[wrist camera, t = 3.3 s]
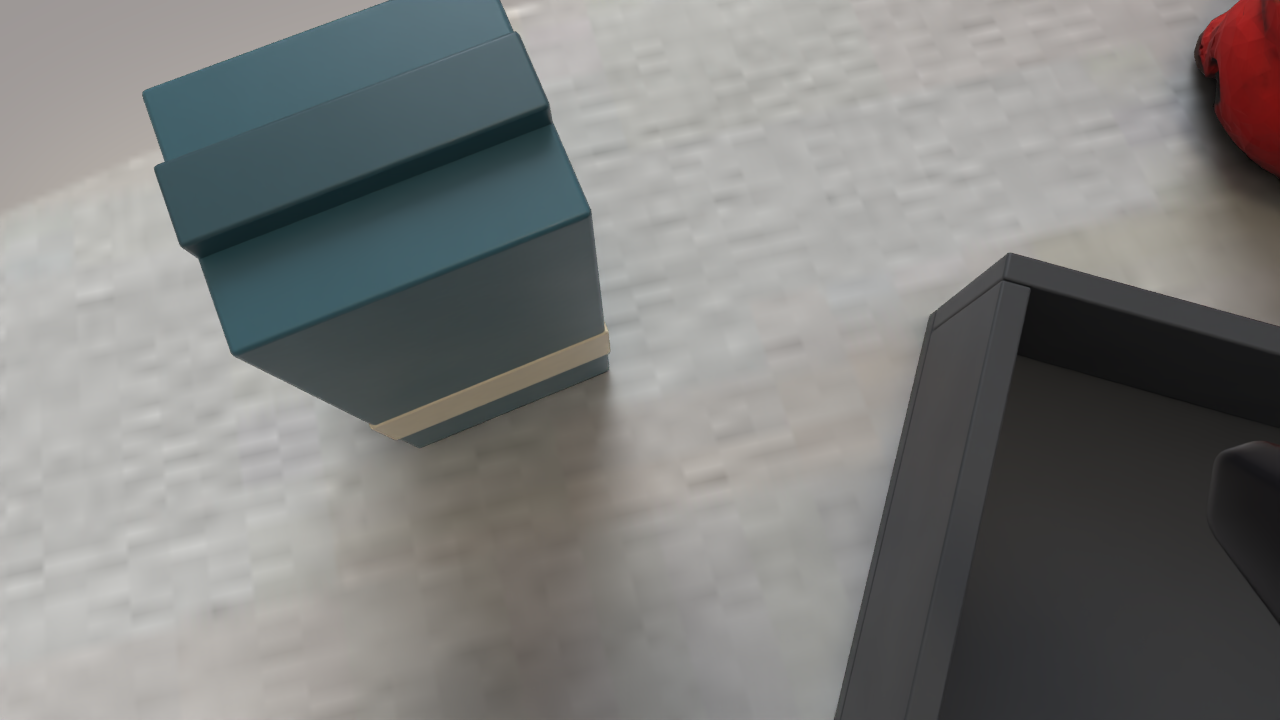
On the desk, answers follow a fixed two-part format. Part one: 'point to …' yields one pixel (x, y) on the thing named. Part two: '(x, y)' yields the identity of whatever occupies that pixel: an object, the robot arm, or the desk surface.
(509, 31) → the teal gift box
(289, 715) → the desk surface
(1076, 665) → the dark grey open box
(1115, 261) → the desk surface
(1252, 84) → the red clay folk toy
